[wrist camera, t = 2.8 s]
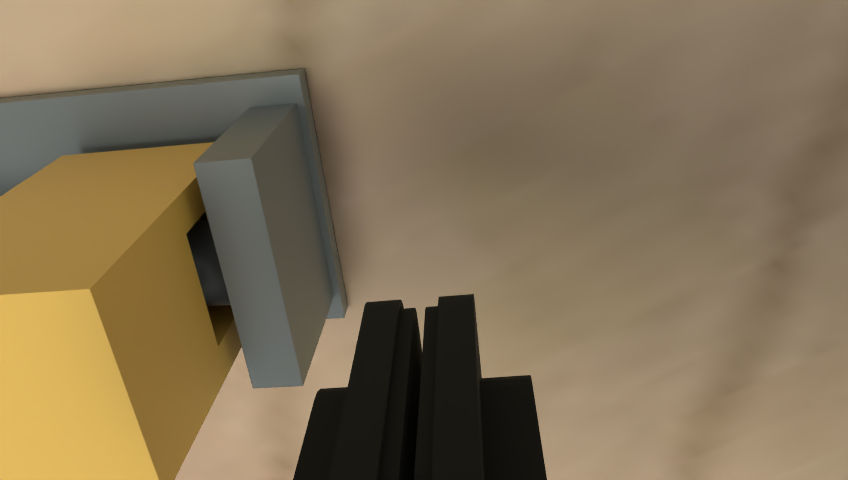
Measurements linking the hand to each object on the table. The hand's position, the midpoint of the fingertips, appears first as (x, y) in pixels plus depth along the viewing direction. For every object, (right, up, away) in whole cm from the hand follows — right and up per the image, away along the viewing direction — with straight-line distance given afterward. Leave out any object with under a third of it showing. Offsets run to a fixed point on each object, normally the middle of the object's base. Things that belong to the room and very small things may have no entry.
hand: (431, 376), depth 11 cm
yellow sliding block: (-7, +3, +8) cm, 10 cm away
